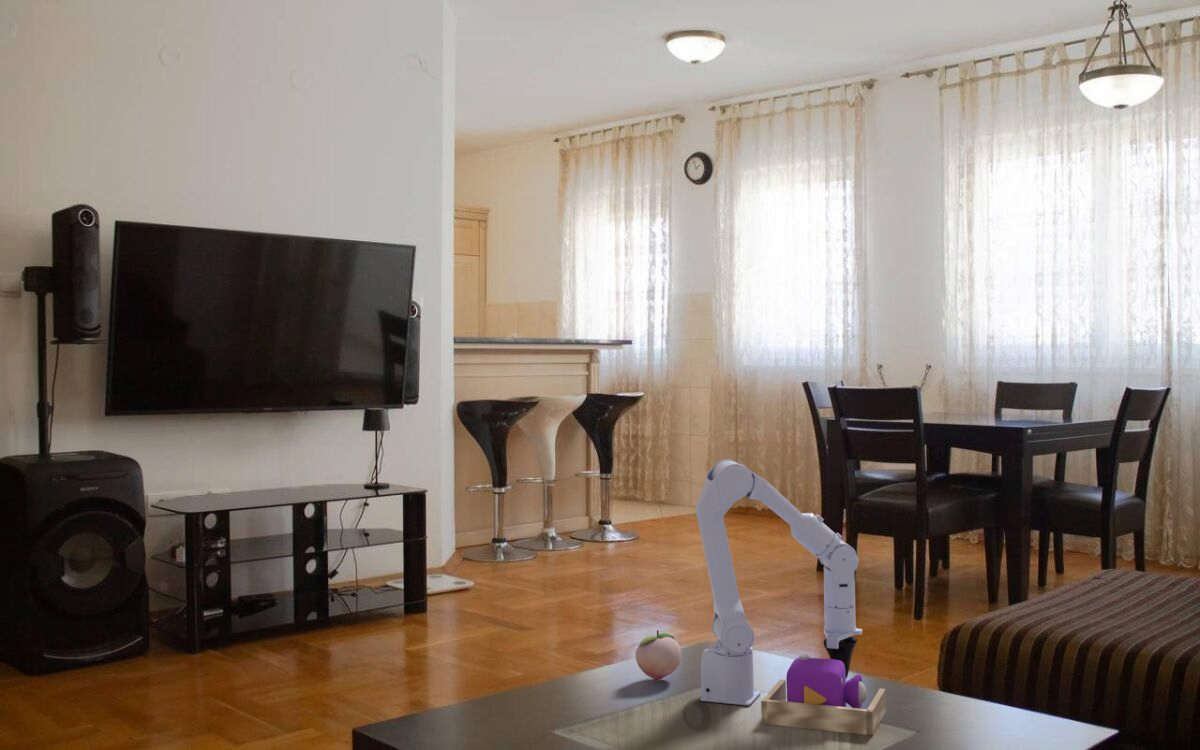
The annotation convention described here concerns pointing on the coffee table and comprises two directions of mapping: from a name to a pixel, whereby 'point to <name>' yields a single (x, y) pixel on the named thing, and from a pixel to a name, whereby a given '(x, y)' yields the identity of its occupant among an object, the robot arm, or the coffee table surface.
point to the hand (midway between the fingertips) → (841, 677)
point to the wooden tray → (821, 713)
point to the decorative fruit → (658, 655)
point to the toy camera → (823, 683)
